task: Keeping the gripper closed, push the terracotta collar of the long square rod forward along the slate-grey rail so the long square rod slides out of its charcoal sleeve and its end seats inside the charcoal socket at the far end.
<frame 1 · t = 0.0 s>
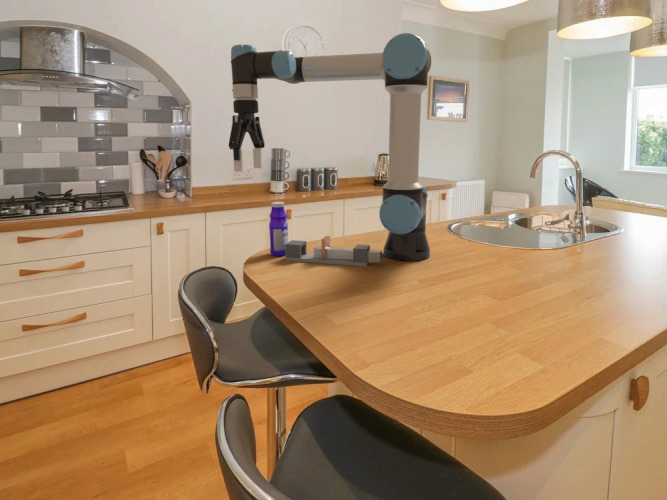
hand: (248, 169, 150), 28 cm above the kitchen island, fingers open, 13 cm apart
long square rod: (347, 248, 146), point 4 cm above the kitchen island, slide at 0.0 cm
bottle: (279, 254, 158), on the kitchen island
rail: (327, 260, 149), on the kitchen island
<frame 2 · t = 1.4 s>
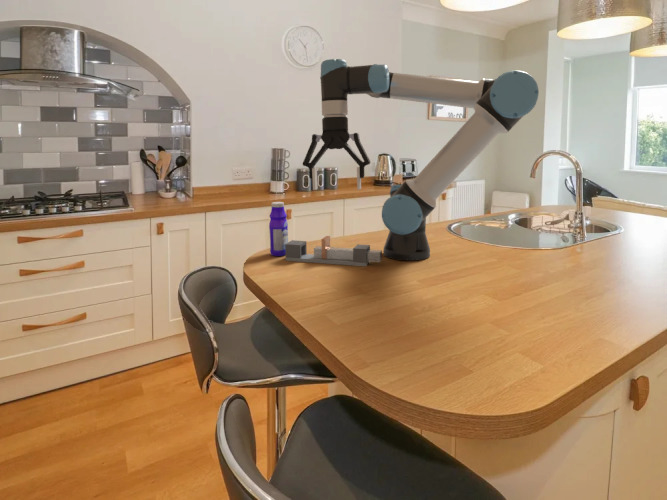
hand: (337, 189, 143), 23 cm above the kitchen island, fingers open, 13 cm apart
nothing on the kitchen island moved.
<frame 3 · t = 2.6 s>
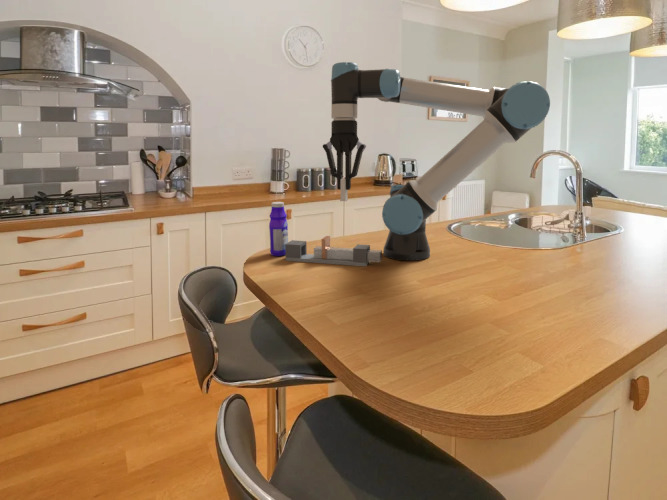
hand: (344, 200, 143), 19 cm above the kitchen island, fingers closed
nothing on the kitchen island moved.
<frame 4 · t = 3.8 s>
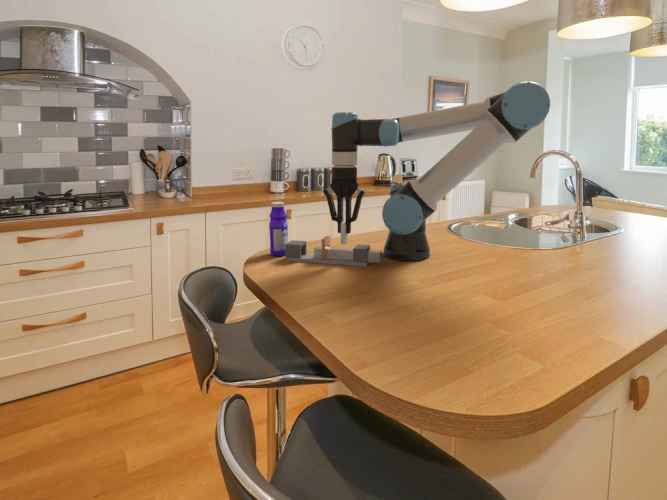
hand: (344, 243, 146), 6 cm above the kitchen island, fingers closed
nothing on the kitchen island moved.
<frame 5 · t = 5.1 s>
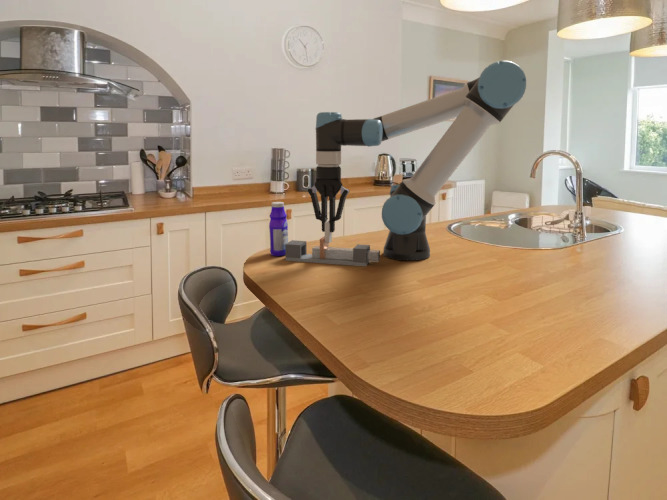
hand: (328, 242, 147), 6 cm above the kitchen island, fingers closed
long square rod: (345, 248, 146), point 4 cm above the kitchen island, slide at 0.6 cm, touching gripper
everything else where it was.
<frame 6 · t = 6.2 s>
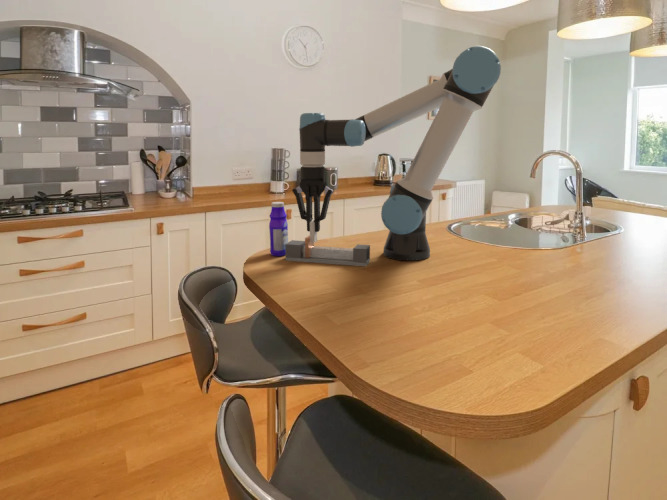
hand: (313, 241, 149), 6 cm above the kitchen island, fingers closed
long square rod: (330, 247, 148), point 4 cm above the kitchen island, slide at 5.4 cm, touching gripper
everything else where it was.
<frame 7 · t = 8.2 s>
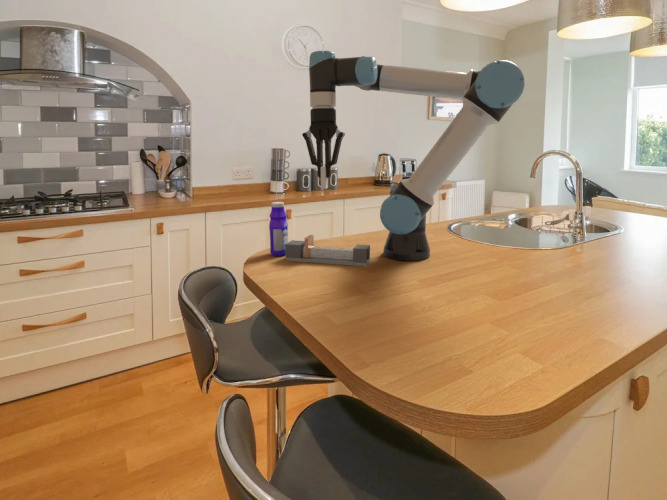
hand: (324, 188, 144), 23 cm above the kitchen island, fingers closed
long square rod: (330, 247, 148), point 4 cm above the kitchen island, slide at 5.5 cm
everything else where it was.
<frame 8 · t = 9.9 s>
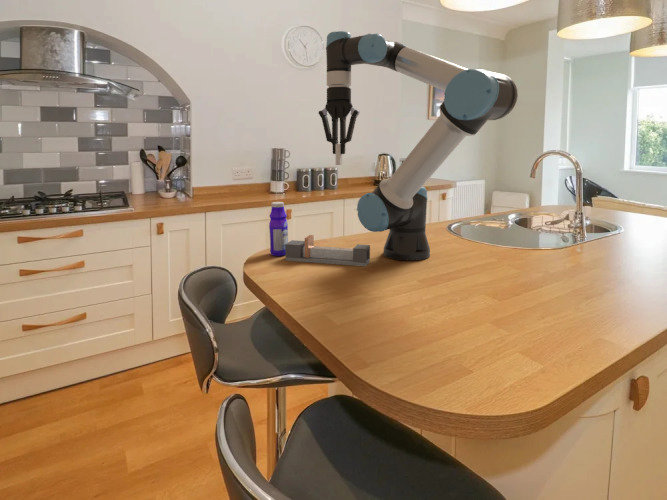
hand: (338, 164, 151), 29 cm above the kitchen island, fingers closed
nothing on the kitchen island moved.
at the end: long square rod slide at 5.5 cm; the gripper is holding nothing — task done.
